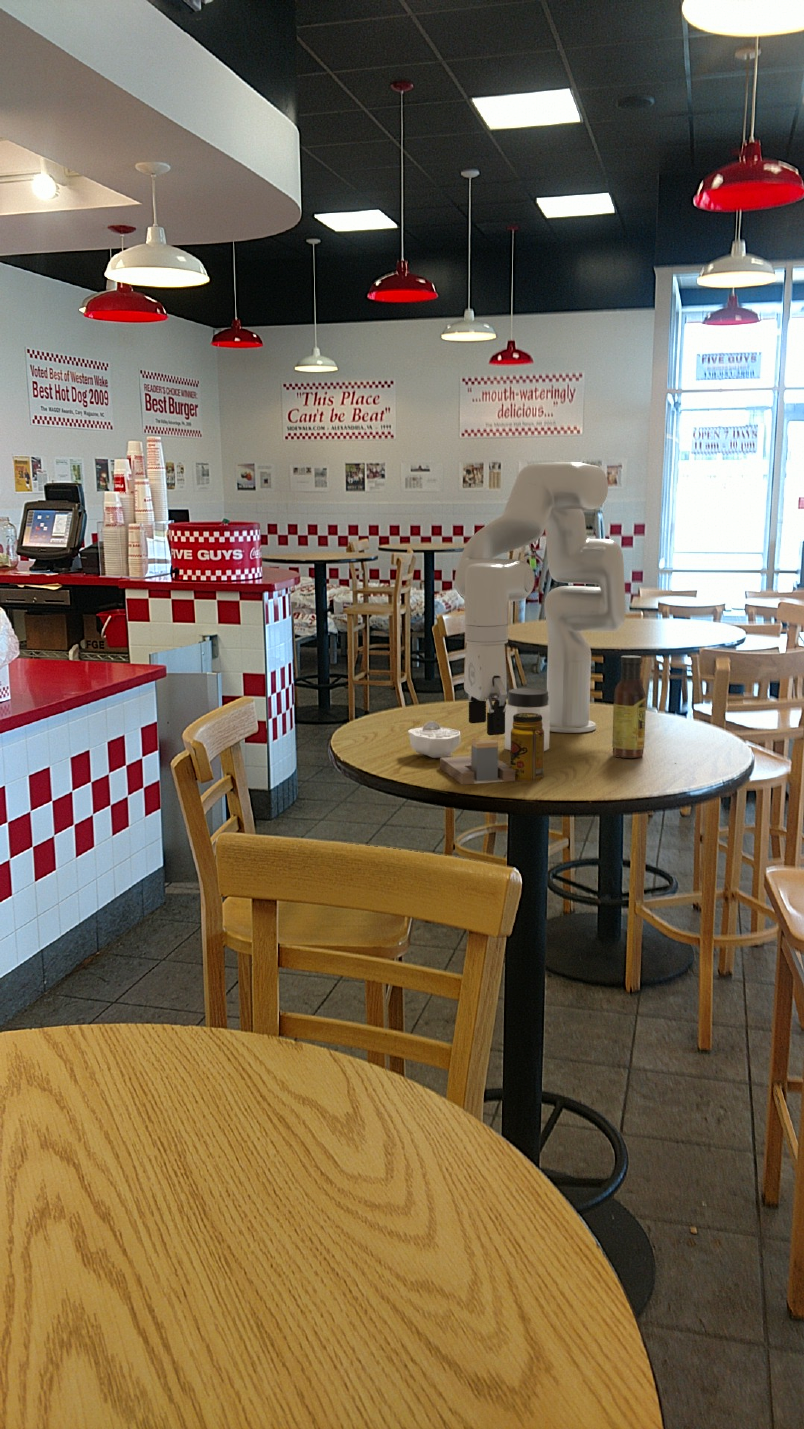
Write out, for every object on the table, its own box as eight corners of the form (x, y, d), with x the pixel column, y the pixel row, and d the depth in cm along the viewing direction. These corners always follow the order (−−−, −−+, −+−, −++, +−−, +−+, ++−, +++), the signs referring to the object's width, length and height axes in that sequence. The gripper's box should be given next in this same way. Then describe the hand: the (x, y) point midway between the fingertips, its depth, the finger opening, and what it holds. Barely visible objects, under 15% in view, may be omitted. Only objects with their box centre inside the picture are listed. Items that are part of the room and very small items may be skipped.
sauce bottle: (644, 760, 208) (648, 659, 204) (611, 758, 209) (615, 658, 205) (643, 752, 214) (647, 654, 210) (611, 751, 215) (615, 653, 212)
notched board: (440, 768, 201) (440, 757, 201) (490, 764, 204) (490, 754, 204) (462, 784, 189) (462, 773, 189) (515, 780, 192) (515, 769, 191)
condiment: (500, 780, 194) (501, 715, 192) (525, 771, 201) (526, 708, 199) (534, 786, 190) (535, 719, 188) (559, 777, 196) (560, 713, 194)
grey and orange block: (471, 777, 194) (471, 740, 192) (491, 775, 195) (492, 739, 193) (476, 780, 191) (477, 743, 189) (497, 779, 192) (498, 742, 190)
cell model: (415, 764, 205) (415, 730, 203) (403, 751, 216) (403, 718, 215) (467, 762, 206) (467, 727, 205) (452, 749, 218) (452, 716, 217)
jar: (556, 751, 215) (557, 693, 213) (521, 755, 212) (523, 696, 210) (531, 743, 223) (533, 686, 221) (498, 747, 220) (499, 689, 217)
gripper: (451, 628, 195) (451, 719, 199) (483, 642, 179) (483, 741, 183) (489, 626, 197) (489, 716, 201) (524, 639, 181) (524, 737, 185)
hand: (486, 728), depth 192 cm, fingers open, 9 cm apart
